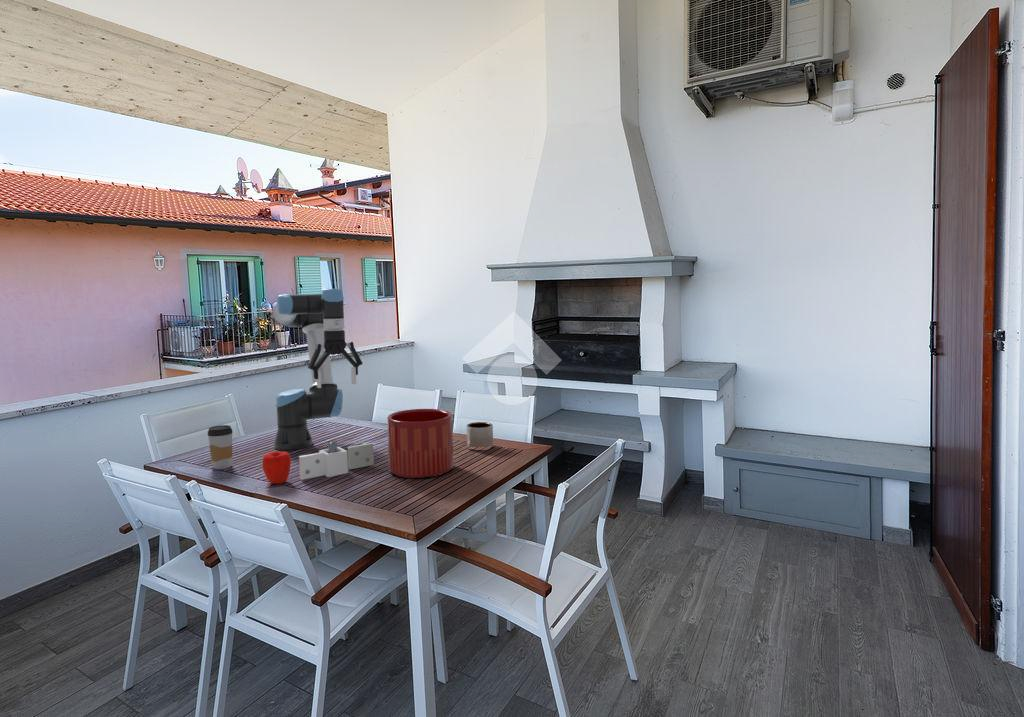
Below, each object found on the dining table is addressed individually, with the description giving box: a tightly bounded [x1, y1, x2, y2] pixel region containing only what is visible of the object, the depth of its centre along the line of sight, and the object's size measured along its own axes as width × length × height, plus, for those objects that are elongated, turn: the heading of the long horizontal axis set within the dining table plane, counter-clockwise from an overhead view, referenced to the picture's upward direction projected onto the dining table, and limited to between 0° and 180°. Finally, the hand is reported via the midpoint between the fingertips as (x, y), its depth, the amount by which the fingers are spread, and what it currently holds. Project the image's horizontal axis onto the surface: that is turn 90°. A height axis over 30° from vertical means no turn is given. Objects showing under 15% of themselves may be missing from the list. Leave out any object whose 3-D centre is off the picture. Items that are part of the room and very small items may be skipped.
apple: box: [262, 450, 292, 485], centre depth 194 cm, size 9×9×11 cm
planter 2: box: [466, 421, 494, 448], centre depth 236 cm, size 11×11×10 cm
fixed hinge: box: [298, 446, 349, 481], centre depth 203 cm, size 7×15×8 cm, turn 127°
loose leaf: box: [347, 442, 375, 470], centre depth 211 cm, size 2×9×8 cm, turn 125°
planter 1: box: [386, 408, 454, 479], centre depth 207 cm, size 23×23×20 cm
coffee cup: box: [207, 424, 234, 470], centre depth 213 cm, size 8×8×15 cm
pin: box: [327, 440, 338, 453], centre depth 205 cm, size 3×3×11 cm
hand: (336, 385), depth 219 cm, fingers open, 13 cm apart
